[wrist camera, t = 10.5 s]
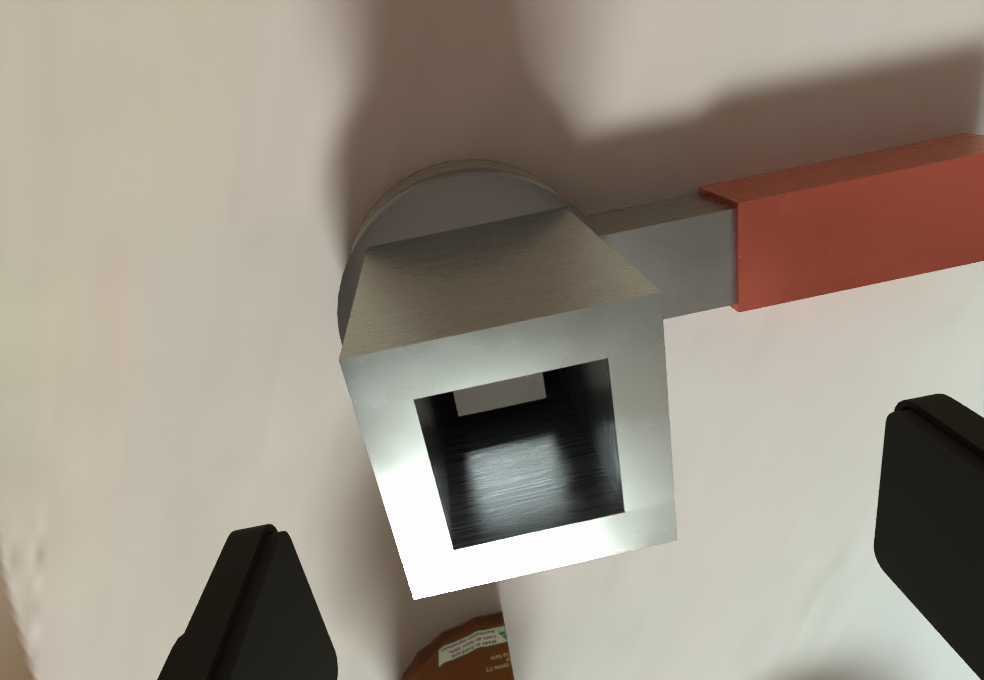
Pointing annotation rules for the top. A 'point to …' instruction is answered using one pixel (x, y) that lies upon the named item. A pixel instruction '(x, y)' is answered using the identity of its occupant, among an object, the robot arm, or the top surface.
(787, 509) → the top surface
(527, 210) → the ratchet
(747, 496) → the top surface
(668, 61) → the top surface
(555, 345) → the square aluminium tube
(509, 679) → the food container
